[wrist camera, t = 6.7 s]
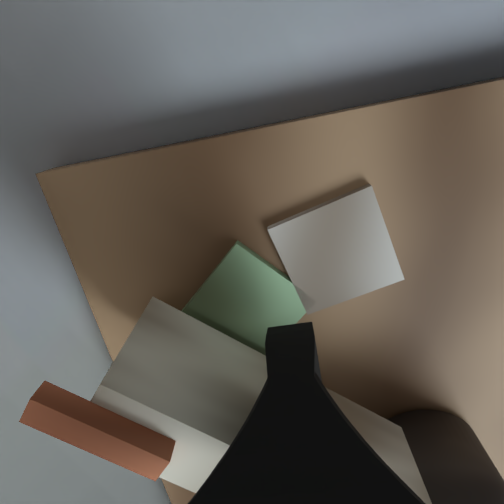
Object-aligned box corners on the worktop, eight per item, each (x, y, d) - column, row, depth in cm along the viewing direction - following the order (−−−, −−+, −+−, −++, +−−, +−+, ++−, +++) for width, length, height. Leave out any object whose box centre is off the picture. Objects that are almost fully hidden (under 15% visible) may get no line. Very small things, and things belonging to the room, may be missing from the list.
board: (817, 13, 9) (902, -1, 8) (647, 534, 16) (677, 569, 15) (54, 167, 11) (29, 176, 10) (209, 562, 19) (204, 594, 17)
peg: (502, 440, 13) (615, 607, 9) (424, 502, 14) (489, 671, 10) (142, 243, 11) (58, 338, 6) (92, 339, 12) (-4, 470, 8)
